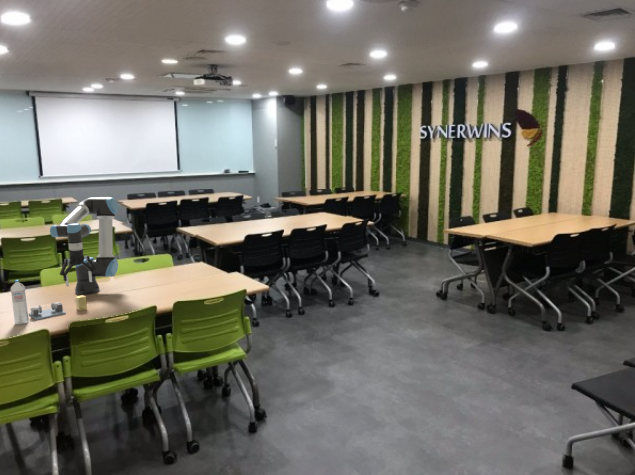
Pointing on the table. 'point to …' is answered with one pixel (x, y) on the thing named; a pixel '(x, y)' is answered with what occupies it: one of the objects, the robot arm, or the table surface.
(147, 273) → the table surface
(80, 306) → the pale yellow block
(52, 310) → the shaft bench
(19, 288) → the water bottle
